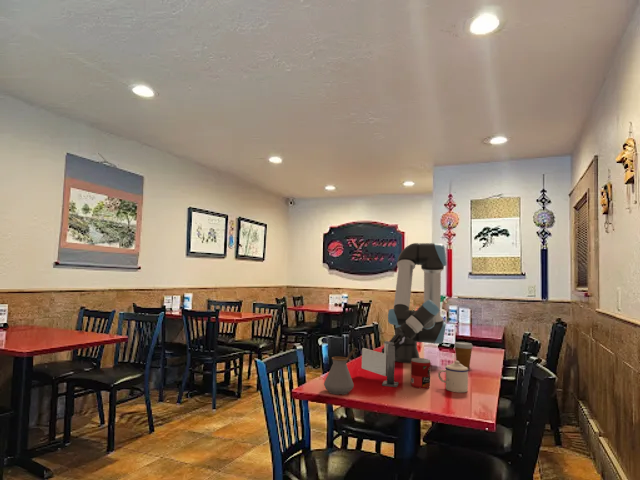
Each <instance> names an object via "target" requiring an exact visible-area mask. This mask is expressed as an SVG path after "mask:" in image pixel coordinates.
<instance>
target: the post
mask: <svg viewBox="0 0 640 480" xmlns="http://www.w3.org/2000/svg"><path fill="white" fill-rule="evenodd" d="M395 363H396V361H395V346H392V345H388V358H387V376H386V380H383V382H382V383H381V386H382V387H393V388H397V387H398V386H399V383H400V382H399V381H395V365H396V364H395Z"/></svg>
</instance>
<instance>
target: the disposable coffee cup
mask: <svg viewBox="0 0 640 480" xmlns="http://www.w3.org/2000/svg"><path fill="white" fill-rule="evenodd" d="M453 346H454V351H455V352H454V353H455V359H456V360H455V361H459V362H460V363H459V364H462V365H463V366H465V367H467V368H470V364H471V358H472V351H473V347H474V346H473V344H472V343H471V342H465V341H455V342H454V345H453Z"/></svg>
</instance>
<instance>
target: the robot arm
mask: <svg viewBox="0 0 640 480" xmlns="http://www.w3.org/2000/svg"><path fill="white" fill-rule="evenodd" d="M447 262H448V261H447V254H446V248H445V245H444V244H443V243H435V242H431V243H430V242H429V243H428V242H427V243H426V242H425V243H424V242H422V243H419V242H413V243H411V244H409V245H406V246H405V248H403V249H402V251H401V252H400V254H399V256H398V257H397V261H396V266H397V268H398V269H397V277H396V285H395V286H396V287H395V293H394V302H393V308H390V309H389V310H388V314H387V320H388V321H387V322H388V323H389V325H391V326H393V325H394V327H395V333H394V335H393V336H392V338H391V339H390V340H389V342H393V343H394V345H392V346H395V362H398V363H403V364H404V363H406V364H411V360H412V358H421V357H420V354H419V350H418V344H417V343H424V344H427V343H428V344H434V345H436V344H439V345H440V344H442V343H444V339H445V332H446V326H447V323H446V322H445V321H444V318H443V317H442V316H441V286H442V285H441V284H442V283H441V278H442V277H441V273H442V271H444V267H446V266H447V265H448V264H447ZM416 266H421V270H422V272H423V303H422V305H420V306H419V307H418V308H417V309H416V310H413V309H412V310H411V309H410V304H411V293H412V285H413V283H412V282H413V275H414V269H416ZM388 345H390V344H388ZM381 353H384V347H382V349H381Z"/></svg>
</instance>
